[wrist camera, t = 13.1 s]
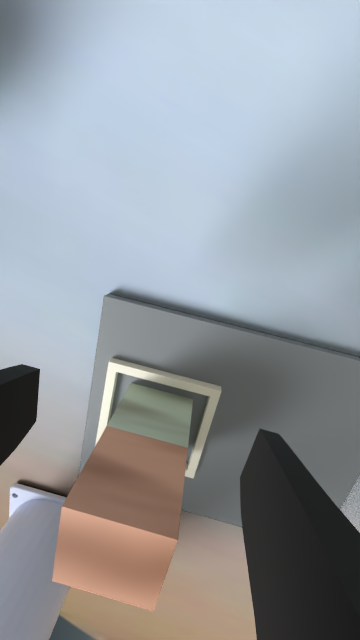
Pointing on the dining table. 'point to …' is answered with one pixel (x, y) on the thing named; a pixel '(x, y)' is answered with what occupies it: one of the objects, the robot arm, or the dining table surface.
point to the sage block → (154, 415)
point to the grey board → (230, 397)
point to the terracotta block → (122, 519)
